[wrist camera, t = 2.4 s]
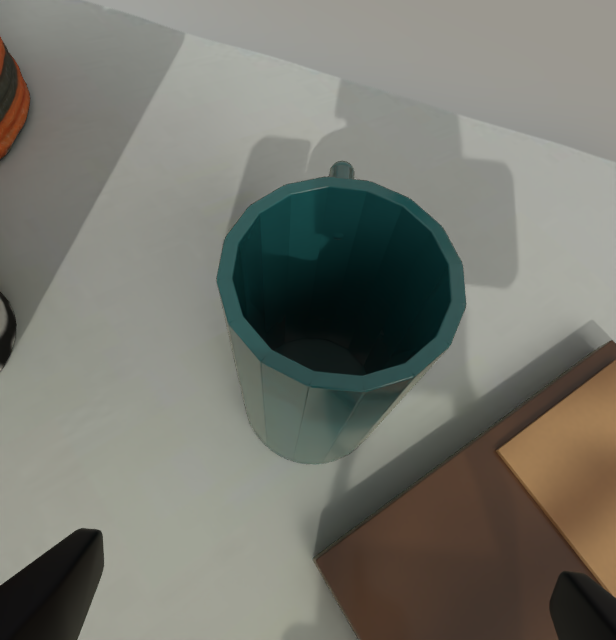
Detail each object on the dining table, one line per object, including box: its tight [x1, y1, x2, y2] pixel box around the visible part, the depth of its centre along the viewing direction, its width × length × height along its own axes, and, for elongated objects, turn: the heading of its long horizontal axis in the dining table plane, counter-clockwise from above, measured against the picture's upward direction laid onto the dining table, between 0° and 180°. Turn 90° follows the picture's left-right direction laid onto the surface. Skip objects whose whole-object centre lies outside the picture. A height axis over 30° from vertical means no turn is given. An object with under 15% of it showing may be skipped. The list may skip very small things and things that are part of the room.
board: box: [313, 340, 616, 640], centre depth 20 cm, size 14×20×2 cm
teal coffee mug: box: [216, 161, 466, 464], centre depth 19 cm, size 10×7×12 cm
